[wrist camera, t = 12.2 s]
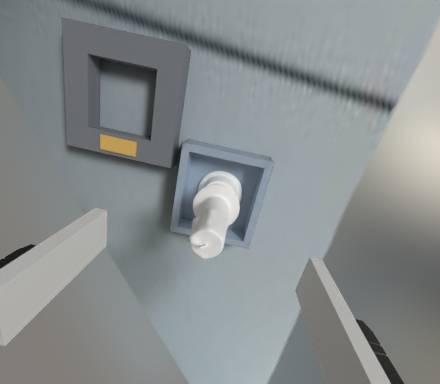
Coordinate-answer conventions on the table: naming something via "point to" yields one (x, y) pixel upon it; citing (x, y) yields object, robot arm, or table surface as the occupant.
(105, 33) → the socket panel
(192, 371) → the table surface
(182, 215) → the tray
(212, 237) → the white cylindrical piece
